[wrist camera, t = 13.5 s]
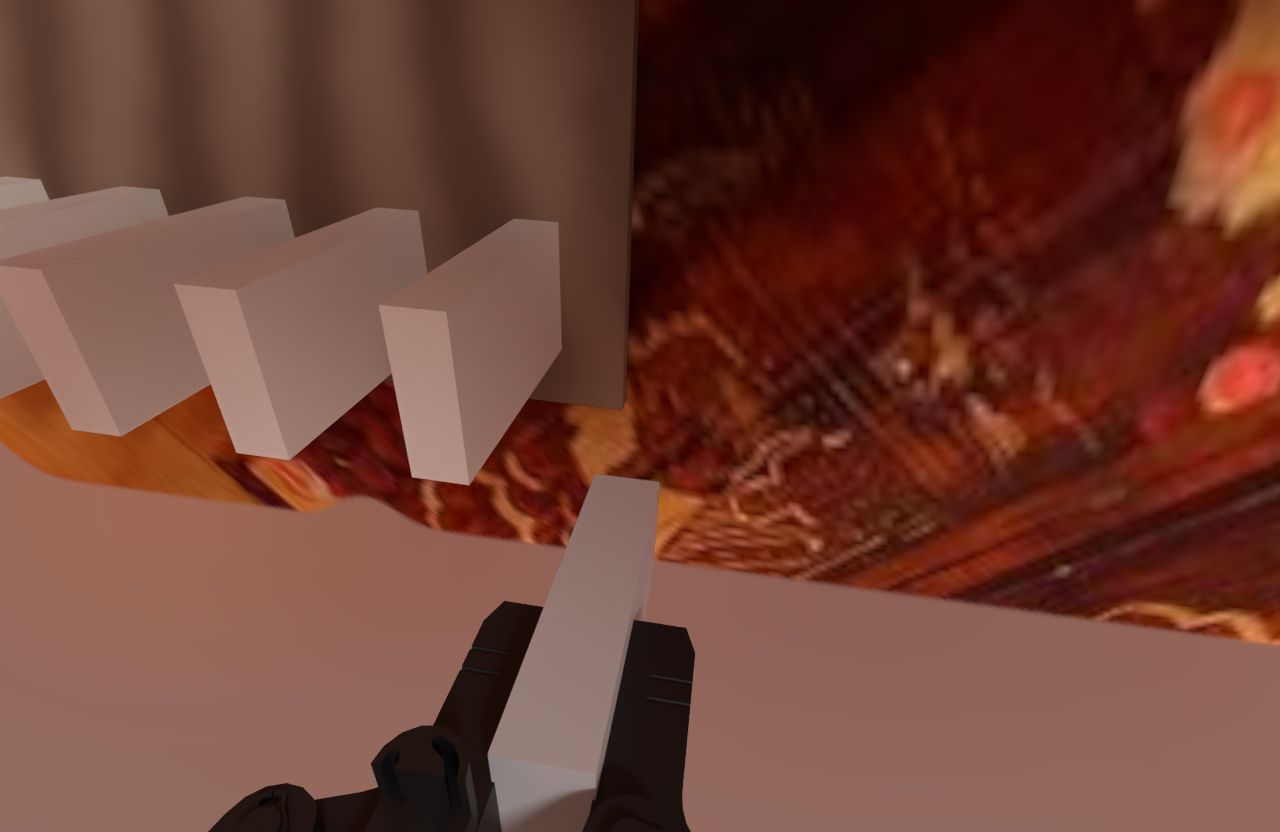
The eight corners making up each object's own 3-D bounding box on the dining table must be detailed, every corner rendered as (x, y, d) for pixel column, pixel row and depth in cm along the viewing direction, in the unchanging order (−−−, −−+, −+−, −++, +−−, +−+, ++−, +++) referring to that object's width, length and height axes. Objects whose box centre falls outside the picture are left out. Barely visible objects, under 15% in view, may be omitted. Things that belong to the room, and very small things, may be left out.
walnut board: (642, -102, 21) (637, -110, 20) (625, 400, 31) (622, 410, 30) (-282, -117, 25) (-318, -123, 25) (-30, 322, 36) (-50, 329, 35)
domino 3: (418, 211, 27) (235, 290, 17) (436, 335, 30) (289, 460, 20) (376, 207, 27) (173, 283, 17) (398, 331, 30) (236, 452, 20)
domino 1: (159, 189, 28) (-138, 251, 19) (201, 309, 31) (-36, 414, 22) (122, 186, 28) (-191, 245, 19) (168, 306, 31) (-81, 408, 22)
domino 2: (284, 199, 27) (40, 269, 18) (316, 322, 30) (121, 436, 21) (245, 196, 28) (-16, 264, 18) (280, 318, 31) (72, 429, 21)
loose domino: (558, 222, 26) (446, 311, 16) (561, 349, 29) (469, 484, 19) (513, 218, 26) (378, 304, 17) (522, 344, 29) (411, 477, 20)
